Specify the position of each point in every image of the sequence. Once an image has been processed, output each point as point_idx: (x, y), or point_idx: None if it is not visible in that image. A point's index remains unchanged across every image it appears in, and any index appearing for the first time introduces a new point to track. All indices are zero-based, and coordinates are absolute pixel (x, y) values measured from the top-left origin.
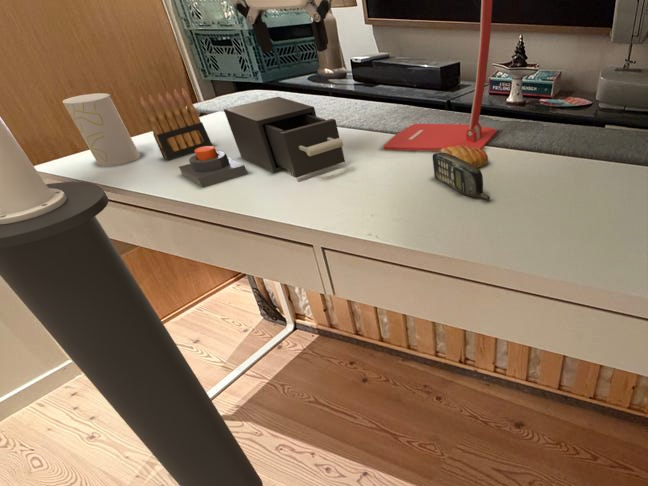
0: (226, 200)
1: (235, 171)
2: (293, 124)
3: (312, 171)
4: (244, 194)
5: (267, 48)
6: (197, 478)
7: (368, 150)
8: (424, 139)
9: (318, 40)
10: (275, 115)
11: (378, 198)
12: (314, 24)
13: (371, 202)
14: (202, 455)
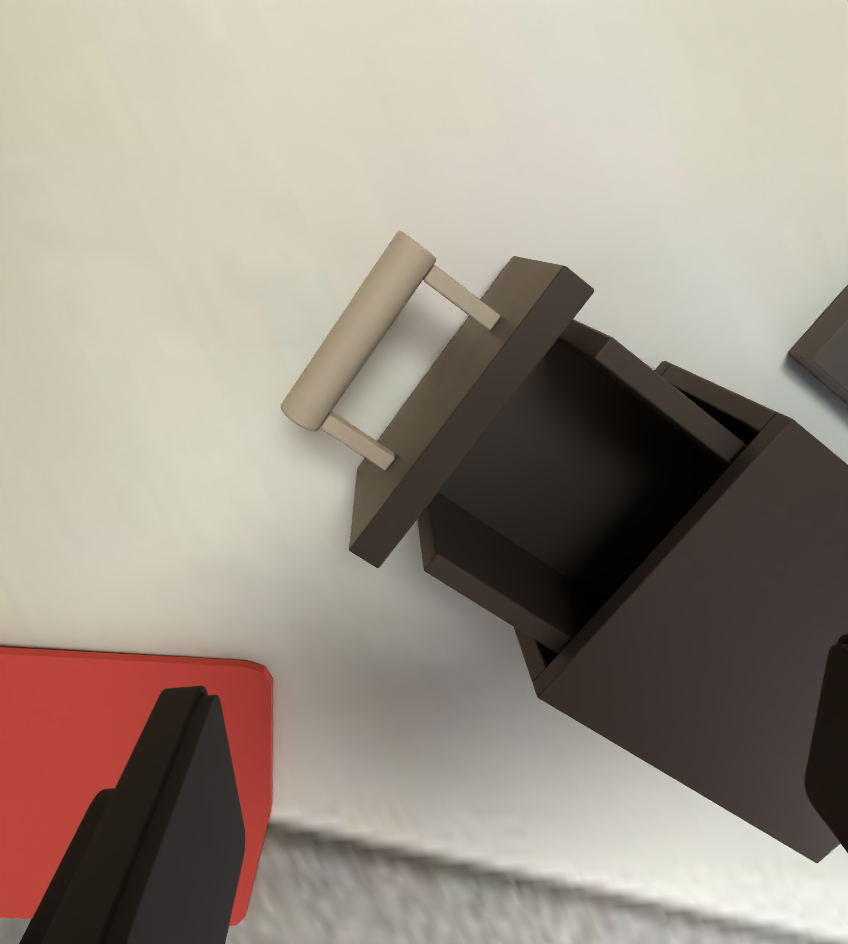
0: (778, 10)
1: (838, 314)
2: None
3: (460, 330)
4: (715, 94)
5: (841, 702)
6: None
7: (334, 651)
8: (106, 752)
9: (130, 759)
10: (711, 530)
11: (23, 70)
12: (55, 939)
13: (34, 14)
14: None
